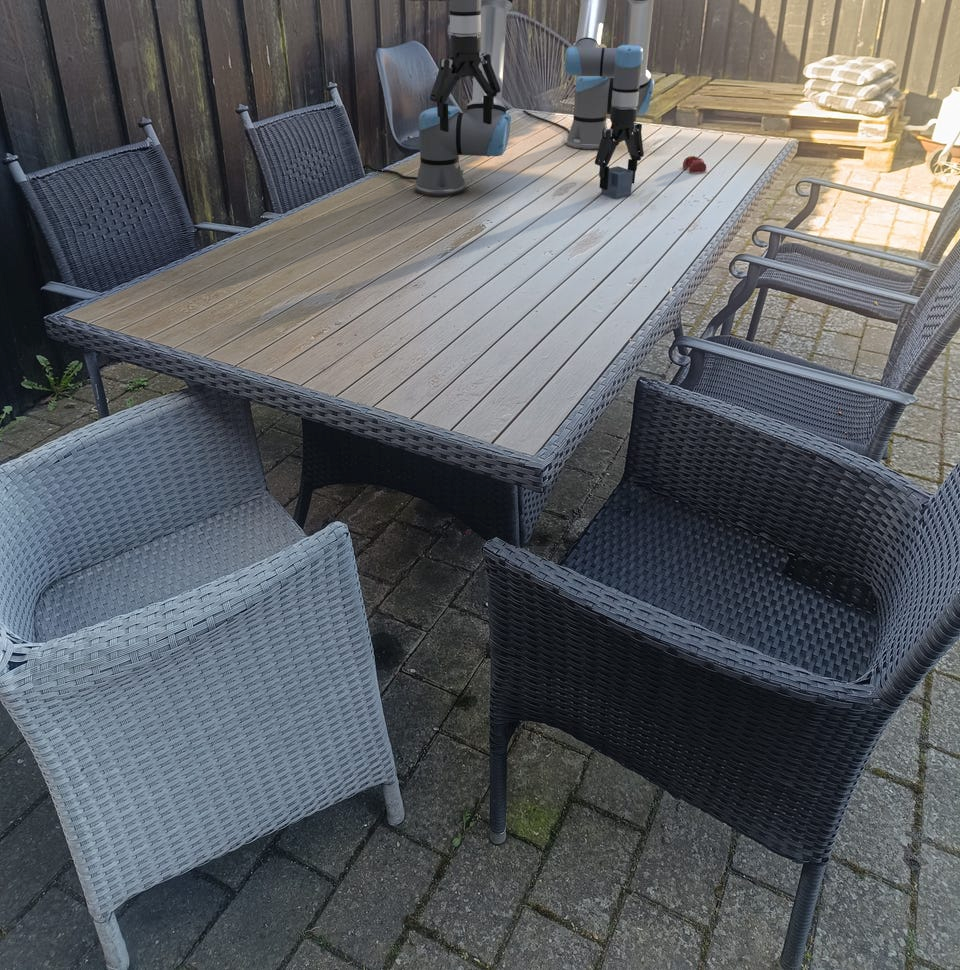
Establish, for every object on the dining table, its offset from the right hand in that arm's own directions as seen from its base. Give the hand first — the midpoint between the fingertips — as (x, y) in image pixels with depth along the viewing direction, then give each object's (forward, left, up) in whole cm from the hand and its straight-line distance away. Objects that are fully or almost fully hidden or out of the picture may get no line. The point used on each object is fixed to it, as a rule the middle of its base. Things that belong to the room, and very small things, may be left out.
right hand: (616, 185), depth 253 cm
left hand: (+27, -46, +23) cm, 58 cm away
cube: (0, 0, -3) cm, 3 cm away
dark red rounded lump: (-25, +30, -3) cm, 39 cm away
